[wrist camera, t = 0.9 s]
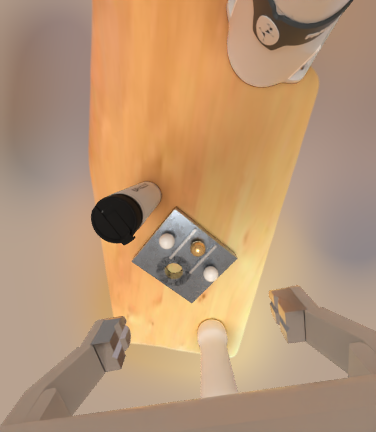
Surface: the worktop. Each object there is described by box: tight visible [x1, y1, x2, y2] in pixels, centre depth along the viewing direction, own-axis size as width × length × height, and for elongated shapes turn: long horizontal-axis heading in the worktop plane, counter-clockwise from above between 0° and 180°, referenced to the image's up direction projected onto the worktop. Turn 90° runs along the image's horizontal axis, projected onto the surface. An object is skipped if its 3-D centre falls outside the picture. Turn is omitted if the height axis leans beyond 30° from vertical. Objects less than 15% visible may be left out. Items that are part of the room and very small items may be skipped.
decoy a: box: [203, 266, 218, 282], centre depth 43 cm, size 4×4×4 cm
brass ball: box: [190, 241, 206, 257], centre depth 41 cm, size 4×4×4 cm
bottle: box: [198, 319, 238, 398], centre depth 38 cm, size 8×8×30 cm
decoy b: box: [159, 233, 175, 249], centre depth 40 cm, size 4×4×4 cm
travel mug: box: [91, 181, 161, 245], centre depth 32 cm, size 6×7×20 cm
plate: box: [132, 207, 237, 303], centre depth 44 cm, size 17×19×3 cm
